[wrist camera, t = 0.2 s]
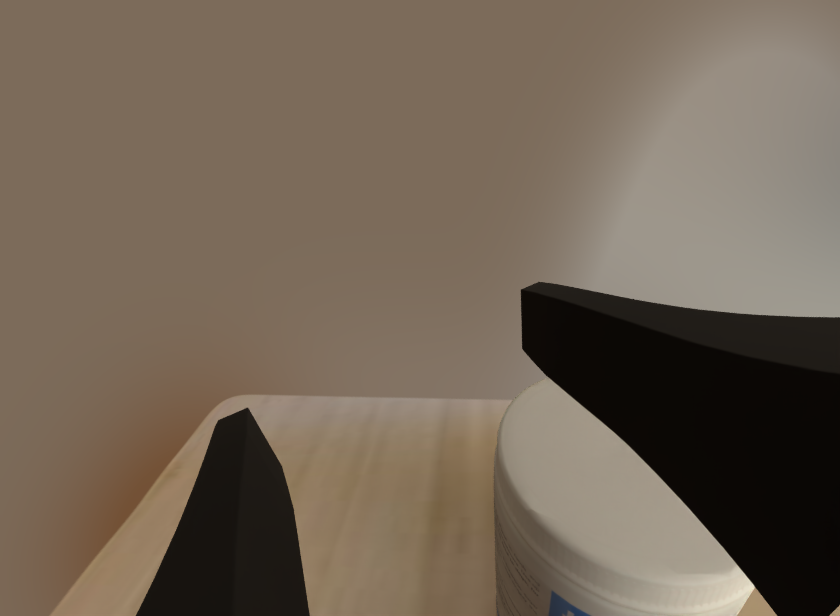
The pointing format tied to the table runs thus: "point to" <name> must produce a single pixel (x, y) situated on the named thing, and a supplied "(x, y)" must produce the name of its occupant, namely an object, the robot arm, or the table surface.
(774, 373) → the robot arm
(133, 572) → the table surface
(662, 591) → the supplement tub
